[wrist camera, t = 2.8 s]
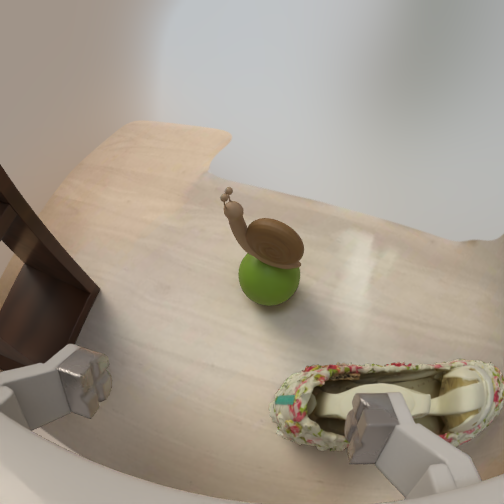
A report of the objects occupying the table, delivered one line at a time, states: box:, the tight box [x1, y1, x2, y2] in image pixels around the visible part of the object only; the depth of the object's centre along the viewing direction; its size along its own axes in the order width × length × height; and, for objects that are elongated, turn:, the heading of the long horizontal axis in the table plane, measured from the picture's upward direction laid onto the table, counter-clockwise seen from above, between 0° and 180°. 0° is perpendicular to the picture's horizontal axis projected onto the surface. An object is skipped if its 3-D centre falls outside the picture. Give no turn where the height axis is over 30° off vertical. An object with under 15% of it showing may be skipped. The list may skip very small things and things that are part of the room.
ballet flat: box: [269, 359, 504, 451], centre depth 20 cm, size 9×25×8 cm, turn 86°
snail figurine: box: [220, 187, 304, 306], centre depth 25 cm, size 5×6×12 cm
